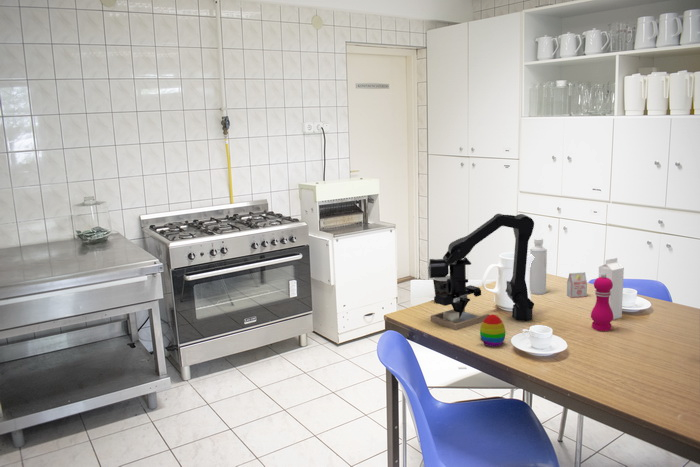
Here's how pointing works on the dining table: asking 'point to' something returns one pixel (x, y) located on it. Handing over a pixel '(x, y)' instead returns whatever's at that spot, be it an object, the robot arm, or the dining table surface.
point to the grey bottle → (538, 268)
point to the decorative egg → (492, 331)
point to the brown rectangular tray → (464, 320)
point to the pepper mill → (602, 304)
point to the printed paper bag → (577, 285)
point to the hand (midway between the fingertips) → (458, 317)
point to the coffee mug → (442, 282)
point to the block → (451, 316)
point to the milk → (614, 285)
